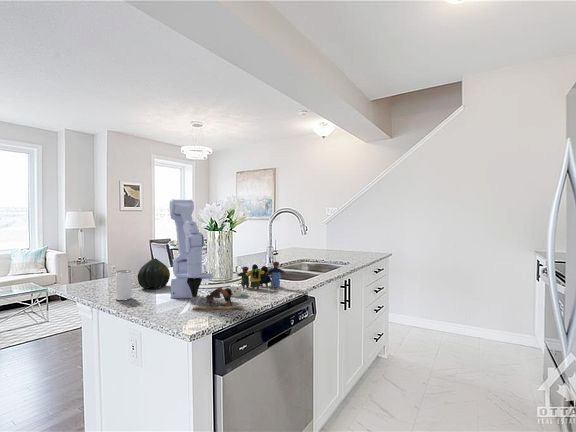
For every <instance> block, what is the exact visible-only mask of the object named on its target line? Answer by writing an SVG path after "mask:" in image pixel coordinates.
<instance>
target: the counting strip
mask: <svg viewBox="0 0 576 432" xmlns="http://www.w3.org/2000/svg"><path fill="white" fill-rule="evenodd" d="M243 309H244V306H243V305H237V306H236V305H235V306H234V305H231V306H227V305H223V306H222V305H219V306H218V305H217V306H213V305H212V306H210V305H208V306H207V305H206V306H205V305H204V306H203V305H202V306H201V305H197V306H196V305H195V306H193V308H192V311H242V310H243Z"/></svg>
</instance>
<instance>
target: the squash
mask: <svg viewBox="0 0 576 432" xmlns="http://www.w3.org/2000/svg"><path fill="white" fill-rule="evenodd" d="M170 276H171V271H170V269H169V267H168V266H167V265H166V264H165V263H163V262H162V261H160V260H159V259H158V258H152V259H150V260H149V261H148V262H146V263H144V264H143V265H142V266H141V268H140V269H139V271H138V273H137V282H138V284H139V286H140V287H141V288H143V289H150V288H153V289H156V290H159V289H160V288H164V287H166V286H167V284H168V283H169V281H170V279H171V278H170Z"/></svg>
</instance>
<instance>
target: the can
mask: <svg viewBox="0 0 576 432" xmlns="http://www.w3.org/2000/svg"><path fill="white" fill-rule="evenodd" d="M114 281H115V284H114V286H115V300H116V299H117V300H125V299H130V298H131V299H132V298H133V273H132V270H129V269H127V270H126V269H124V270H122V269H121V270H117V271H116V273H115V279H114ZM131 299H130V300H131ZM117 300H116V301H117ZM125 301H126V300H125Z"/></svg>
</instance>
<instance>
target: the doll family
mask: <svg viewBox="0 0 576 432" xmlns="http://www.w3.org/2000/svg"><path fill="white" fill-rule="evenodd" d="M272 265H273V268H270V269H269V268H268V267H267V266H265V265H263V266H262V267H261V268H259V267H258V265H257V264H255V263H254V264H252V267H251V270H250V269H249V267H248V266H242V267H241V270H242V271H241V272H239V273H237V275H236V276H237V277H241V283H240V284H241V290H245V289H251V290H260V288H263V287H269V284H270V287H271V288H275V287H276V288H280V287H281V285H280V284H281V281H280V280H281V279H280V278H281V277H280V274H281V275H282V274H283V275H286V274H287V273H286V272H285V271H284V270H283V269H281V268H279V265H280V262H278V261H273V262H272Z"/></svg>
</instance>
